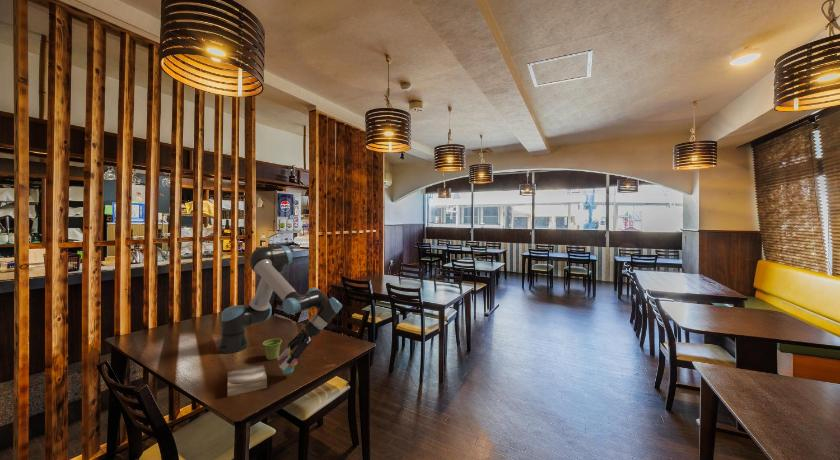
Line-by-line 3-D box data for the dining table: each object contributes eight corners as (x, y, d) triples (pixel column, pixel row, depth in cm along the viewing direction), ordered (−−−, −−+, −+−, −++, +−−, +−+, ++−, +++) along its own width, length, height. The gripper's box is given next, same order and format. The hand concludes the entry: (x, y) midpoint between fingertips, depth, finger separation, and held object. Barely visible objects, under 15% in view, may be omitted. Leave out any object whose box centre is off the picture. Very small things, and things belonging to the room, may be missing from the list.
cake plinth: (227, 380, 146) (227, 370, 146) (263, 373, 154) (263, 363, 154) (227, 396, 134) (227, 385, 133) (266, 387, 141) (266, 376, 141)
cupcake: (281, 367, 154) (282, 343, 154) (299, 367, 155) (300, 343, 155) (275, 376, 146) (275, 350, 145) (294, 376, 147) (294, 350, 146)
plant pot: (263, 362, 165) (262, 346, 164) (262, 355, 173) (262, 340, 173) (282, 359, 169) (282, 343, 169) (281, 352, 177) (281, 337, 177)
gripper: (326, 337, 149) (290, 378, 141) (316, 323, 167) (283, 359, 159) (315, 327, 146) (277, 369, 138) (305, 314, 164) (271, 351, 156)
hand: (280, 364), depth 149 cm, fingers closed on cupcake, 8 cm apart
